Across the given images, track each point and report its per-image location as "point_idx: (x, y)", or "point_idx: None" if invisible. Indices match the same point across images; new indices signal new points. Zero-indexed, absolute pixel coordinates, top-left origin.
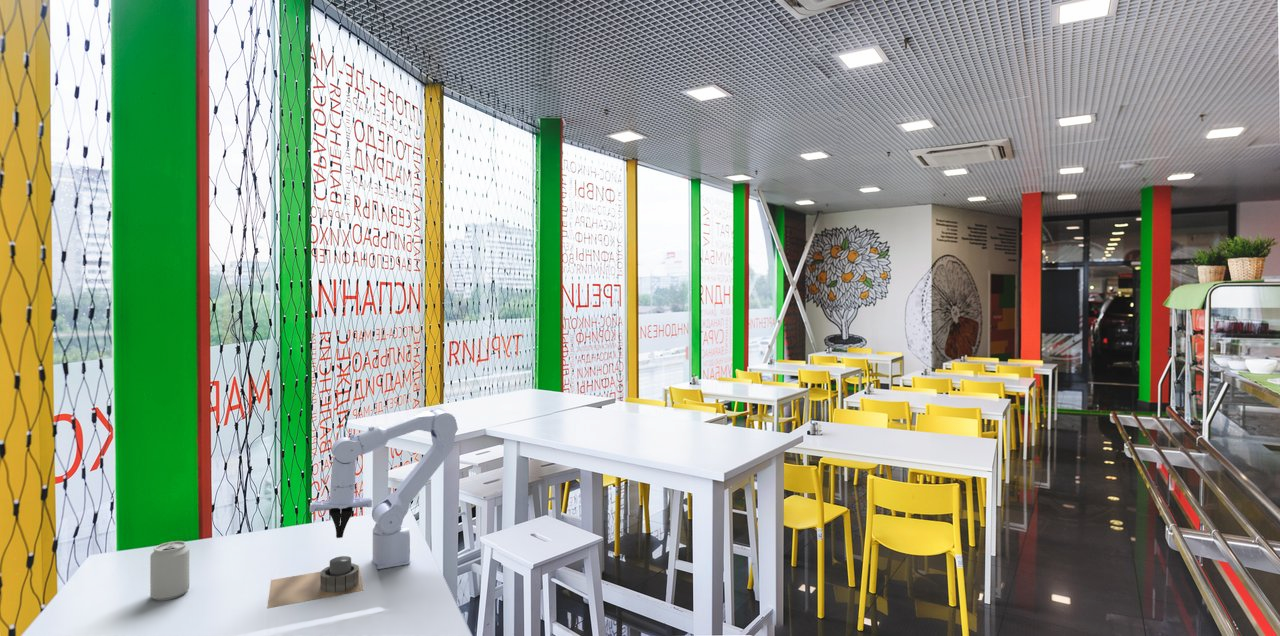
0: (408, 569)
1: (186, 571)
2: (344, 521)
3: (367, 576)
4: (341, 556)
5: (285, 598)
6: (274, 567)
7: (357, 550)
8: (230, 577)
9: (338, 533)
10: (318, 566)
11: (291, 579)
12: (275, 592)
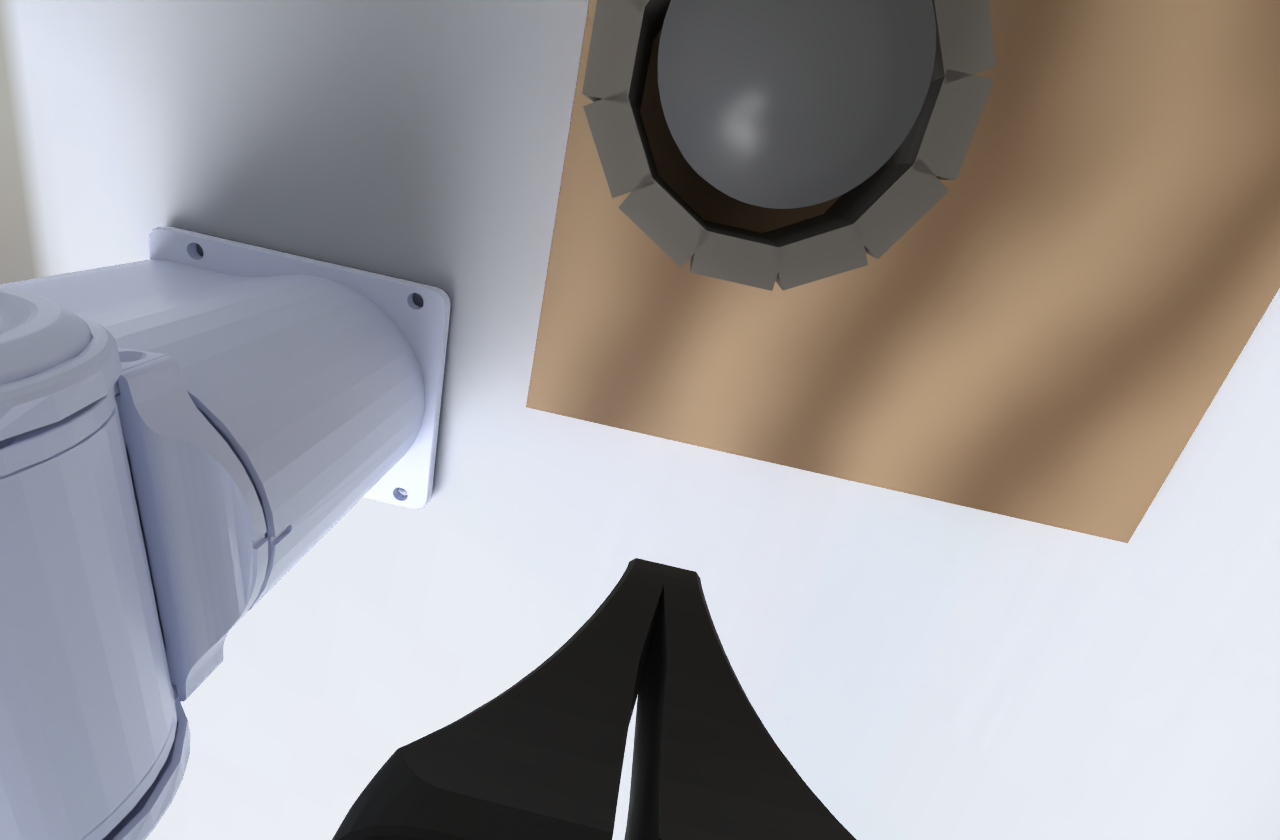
0: (183, 129)
1: None
2: (584, 694)
3: (507, 209)
4: (741, 195)
5: (1242, 93)
6: (973, 748)
7: (474, 691)
8: (1231, 764)
9: (683, 597)
10: (754, 607)
11: (1019, 461)
12: (1228, 289)
